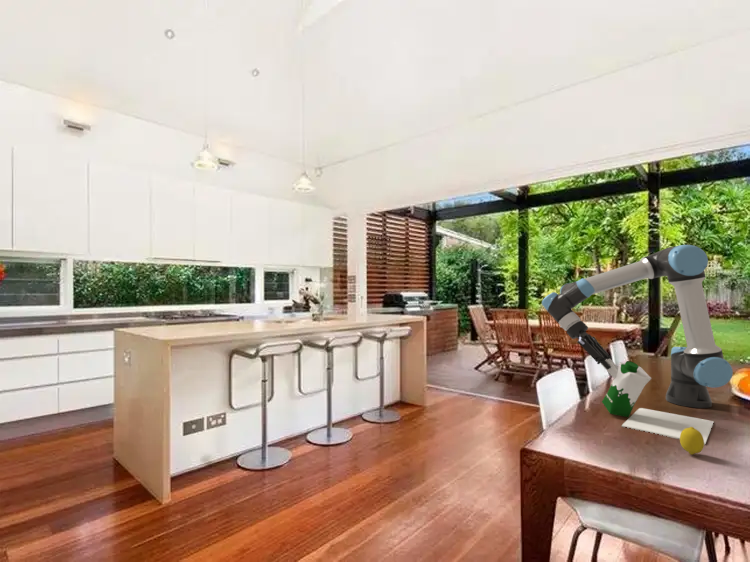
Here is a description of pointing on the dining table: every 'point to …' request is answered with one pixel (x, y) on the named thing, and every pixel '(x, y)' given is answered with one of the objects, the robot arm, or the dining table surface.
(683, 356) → the robot arm
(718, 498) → the dining table surface
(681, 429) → the mat
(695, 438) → the lemon
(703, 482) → the dining table surface
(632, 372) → the soya milk
